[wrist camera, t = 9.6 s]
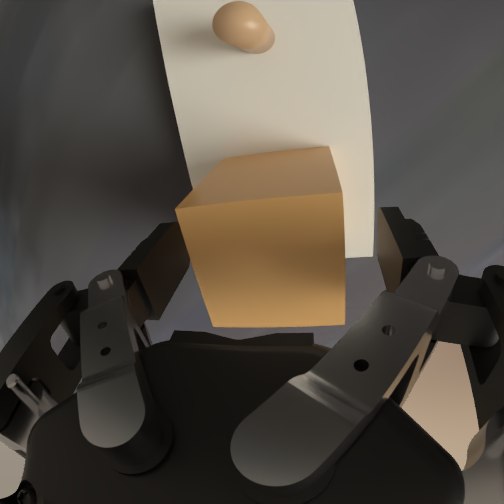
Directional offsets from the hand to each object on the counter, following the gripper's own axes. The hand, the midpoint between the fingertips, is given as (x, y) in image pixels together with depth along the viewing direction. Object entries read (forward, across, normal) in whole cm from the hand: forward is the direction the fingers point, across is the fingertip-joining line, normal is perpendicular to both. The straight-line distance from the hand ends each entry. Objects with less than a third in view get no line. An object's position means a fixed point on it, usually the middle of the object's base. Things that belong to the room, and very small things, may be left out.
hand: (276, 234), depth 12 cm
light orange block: (+4, 0, 0) cm, 4 cm away
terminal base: (+5, 0, -4) cm, 6 cm away
